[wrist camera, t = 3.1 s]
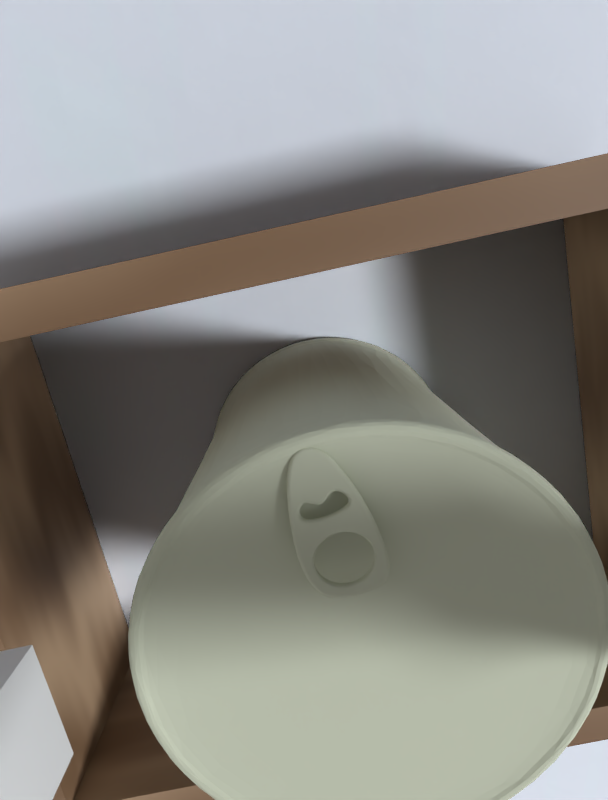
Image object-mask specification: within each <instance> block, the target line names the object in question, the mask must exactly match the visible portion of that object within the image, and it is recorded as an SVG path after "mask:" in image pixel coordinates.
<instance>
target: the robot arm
mask: <svg viewBox="0 0 608 800" xmlns="http://www.w3.org/2000/svg"><path fill="white" fill-rule="evenodd" d="M73 754H74V753H73V750H72V748H71V745H70V742H69V740H68V737H67V734H66V732H65V729H64V727H63V724H62V721H61V719H60V716H59V713H58V711H57V708H56V706H55V703H54V700H53V698H52V695H51V692H50V690H49V687H48V685H47V682H46V679H45V677H44V674H43V671H42V669H41V666H40V664H39V661H38V658H37V656H36V653H35V650H34V648H33V645H28V646H24V647H19V648H14V649H9V650H4V651H0V800H53V798H54V795H55V793H56V791H57V789H58V787H59V784H60V782H61V780H62V778H63V776H64V773H65V771H66V769H67V767H68V765H69V763H70V760H71V758H72V756H73Z"/></svg>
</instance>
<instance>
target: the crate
mask: <svg viewBox="0 0 608 800" xmlns="http://www.w3.org/2000/svg"><path fill="white" fill-rule="evenodd" d="M558 219H563V222H564V233H565V244H566V254H567V265H568V276H569V287H570V297H571V308H572V319H573V329H574V340H575V351H576V362H577V372H578V383H579V394H580V405H581V415H582V426H583V437H584V447H585V458H586V469H587V480H588V490H589V501H590V512H591V522H592V533H593V543H594V545H595V547H596V549H597V551H598V554H599V556H600V559H601V561H602V564H603V567H604V571H605V574H606V578H607V582H608V153H607V154H603V155H598V156H594V157H589V158H585V159H580V160H576V161H572V162H567V163H563V164H558V165H554V166H549V167H545V168H540V169H536V170H531V171H527V172H522V173H518V174H513V175H509V176H504V177H500V178H495V179H491V180H486V181H482V182H477V183H473V184H468V185H464V186H459V187H455V188H450V189H446V190H442V191H437V192H433V193H428V194H424V195H419V196H415V197H410V198H406V199H401V200H397V201H392V202H388V203H383V204H379V205H374V206H370V207H365V208H361V209H356V210H352V211H347V212H343V213H338V214H334V215H329V216H325V217H320V218H316V219H312V220H307V221H303V222H298V223H294V224H289V225H285V226H280V227H276V228H271V229H267V230H262V231H258V232H253V233H249V234H244V235H240V236H235V237H231V238H226V239H222V240H217V241H213V242H208V243H204V244H199V245H195V246H190V247H186V248H182V249H177V250H173V251H168V252H164V253H159V254H155V255H150V256H146V257H141V258H137V259H132V260H128V261H123V262H119V263H114V264H110V265H105V266H101V267H96V268H92V269H87V270H83V271H78V272H74V273H69V274H65V275H60V276H56V277H51V278H47V279H43V280H38V281H34V282H29V283H25V284H20V285H16V286H11V287H7V288H2V289H0V651H4V650H9V649H14V648H19V647H24V646H28V645H33V648H34V650H35V653H36V656H37V658H38V661H39V664H40V666H41V669H42V671H43V674H44V677H45V679H46V682H47V685H48V687H49V690H50V692H51V695H52V698H53V700H54V703H55V706H56V708H57V711H58V713H59V716H60V719H61V721H62V724H63V727H64V729H65V732H66V734H67V737H68V740H69V742H70V745H71V748H72V750H73V753H74V754H73V756H72V758H71V760H70V763H69V765H68V767H67V769H66V771H65V773H64V776H63V778H62V780H61V782H60V784H59V787H58V789H57V791H56V793H55V795H54V798H53V800H215V799H214V798H212V797H211V796H210V795H208V794H207V793H205V792H204V791H203V790H201V789H200V788H199V787H198V786H197V785H196V784H195V783H194V782H192V781H191V780H190V779H189V778H188V777H187V776H186V775H185V774H184V773H183V772H182V771H181V770H180V769H179V768H178V767H177V766H176V765H175V763H174V762H173V761H172V760H171V759H170V757H169V756H168V754H167V753H166V752H165V750H164V749H163V747H162V746H161V745H160V743H159V742H158V740H157V739H156V737H155V735H154V734H153V732H152V730H151V728H150V726H149V725H148V723H147V721H146V719H145V716H144V714H143V711H142V709H141V706H140V704H139V701H138V699H137V695H136V691H135V687H134V683H133V679H132V674H131V669H130V662H129V649H128V631H129V628H128V625H127V622H126V620H125V617H124V614H123V611H122V608H121V605H120V602H119V599H118V596H117V593H116V590H115V587H114V584H113V581H112V578H111V575H110V572H109V569H108V566H107V563H106V560H105V557H104V554H103V551H102V548H101V545H100V542H99V539H98V536H97V533H96V530H95V527H94V524H93V521H92V518H91V515H90V513H89V510H88V507H87V504H86V501H85V498H84V495H83V492H82V489H81V486H80V483H79V480H78V477H77V474H76V471H75V468H74V465H73V462H72V459H71V456H70V453H69V450H68V447H67V444H66V441H65V438H64V435H63V432H62V429H61V426H60V423H59V420H58V417H57V414H56V411H55V408H54V406H53V403H52V400H51V397H50V394H49V391H48V388H47V385H46V382H45V379H44V376H43V373H42V370H41V367H40V364H39V361H38V358H37V355H36V352H35V349H34V346H33V343H32V340H31V337H30V336H31V335H35V334H40V333H44V332H49V331H54V330H58V329H63V328H67V327H72V326H76V325H81V324H85V323H90V322H94V321H99V320H104V319H108V318H113V317H117V316H122V315H126V314H131V313H135V312H140V311H144V310H149V309H154V308H158V307H163V306H167V305H172V304H176V303H181V302H185V301H190V300H194V299H199V298H204V297H208V296H213V295H217V294H222V293H226V292H231V291H235V290H240V289H244V288H249V287H254V286H258V285H263V284H267V283H272V282H276V281H281V280H285V279H290V278H294V277H299V276H304V275H308V274H313V273H317V272H322V271H326V270H331V269H335V268H340V267H344V266H349V265H354V264H358V263H363V262H367V261H372V260H376V259H381V258H385V257H390V256H394V255H399V254H404V253H408V252H413V251H417V250H422V249H426V248H431V247H435V246H440V245H444V244H449V243H454V242H458V241H463V240H467V239H472V238H476V237H481V236H485V235H490V234H494V233H499V232H504V231H508V230H513V229H517V228H522V227H526V226H531V225H535V224H540V223H544V222H549V221H554V220H558ZM606 739H608V664H607V668H606V671H605V675H604V678H603V681H602V684H601V687H600V690H599V693H598V695H597V698H596V700H595V702H594V704H593V706H592V708H591V711H590V713H589V715H588V716H587V718H586V720H585V721H584V723H583V724H582V726H581V728H580V729H579V731H578V733H577V734H576V736H575V737H574V739H573V740H572V741H571V742H570V743H569V745H568V746H567V747H569V746H574V745H580V744H585V743H590V742H595V741H601V740H606Z"/></svg>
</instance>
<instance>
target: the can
mask: <svg viewBox="0 0 608 800" xmlns="http://www.w3.org/2000/svg"><path fill="white" fill-rule="evenodd" d="M128 649H129V662H130V669H131V674H132V679H133V683H134V687H135V691H136V695H137V699H138V701H139V704H140V706H141V709H142V711H143V714H144V716H145V719H146V721H147V723H148V725H149V726H150V728H151V730H152V732H153V734H154V735H155V737H156V739H157V740H158V742H159V743H160V745H161V746H162V747H163V749H164V750H165V752H166V753H167V754H168V756H169V757H170V759H171V760H172V761H173V762H174V763H175V765H176V766H177V767H178V768H179V769H180V770H181V771H182V772H183V773H184V774H185V775H186V776H187V777H188V778H189V779H190V780H191V781H192V782H194V783H195V784H196V785H197V786H198V787H199V788H200V789H201V790H203V791H204V792H205V793H207V794H208V795H210V796H211V797H212V798H214V799H215V800H508V799H510V798H512V797H513V796H515V795H516V794H517V793H519V792H520V791H521V790H523V789H524V788H525V787H527V786H528V785H529V784H531V783H532V782H533V781H535V780H536V779H537V778H538V777H539V776H540V775H541V774H542V773H543V772H544V771H545V770H546V769H547V768H548V767H549V766H550V765H552V764H553V763H554V762H555V761H556V759H557V758H558V757H559V756H560V754H561V753H562V752H563V751H564V750H565V748H566V747H567V746H568V745H569V743H570V742H571V741H572V740H573V739H574V737H575V736H576V734H577V733H578V731H579V729H580V728H581V726H582V724H583V723H584V721H585V720H586V718H587V716H588V715H589V713H590V711H591V708H592V706H593V704H594V702H595V700H596V698H597V695H598V693H599V690H600V687H601V684H602V681H603V678H604V675H605V671H606V668H607V664H608V582H607V578H606V574H605V571H604V567H603V564H602V561H601V559H600V556H599V554H598V551H597V549H596V547H595V545H594V543H593V541H592V539H591V537H590V535H589V533H588V531H587V530H586V528H585V526H584V525H583V523H582V521H581V520H580V518H579V516H578V515H577V514H576V512H575V511H574V510H573V508H572V507H571V506H570V505H569V503H568V502H567V501H566V500H565V499H564V497H563V496H562V495H561V494H560V493H559V492H558V491H557V490H556V489H555V488H554V487H553V486H552V485H551V484H550V483H549V482H548V481H547V480H546V479H545V478H544V477H543V476H541V475H540V474H539V473H538V472H536V471H535V470H534V469H533V468H531V467H530V466H528V465H527V464H526V463H524V462H523V461H521V460H520V459H519V458H517V457H516V456H514V455H512V454H511V453H509V452H507V451H506V450H504V449H502V448H500V447H498V446H497V445H496V444H494V443H493V442H492V441H491V440H489V439H488V438H487V437H486V436H484V435H483V434H482V433H481V432H479V431H478V430H477V429H476V428H474V427H473V426H472V425H471V424H469V423H468V422H467V421H466V420H465V419H463V418H462V417H461V416H460V415H459V414H457V413H456V412H455V411H454V410H453V409H452V408H450V407H449V406H448V405H447V404H446V403H444V402H443V401H442V400H441V399H440V398H438V397H437V396H436V395H435V394H434V393H433V392H431V391H430V389H429V388H428V386H427V385H426V383H425V382H424V381H423V380H422V378H421V377H420V376H419V375H418V374H417V373H416V372H415V371H414V370H413V369H412V368H411V367H410V366H409V365H408V364H406V363H405V362H404V361H402V360H401V359H400V358H398V357H397V356H395V355H393V354H391V353H390V352H388V351H386V350H384V349H382V348H380V347H377V346H375V345H372V344H369V343H366V342H362V341H358V340H353V339H345V338H319V339H312V340H306V341H302V342H298V343H295V344H292V345H289V346H287V347H284V348H282V349H280V350H277V351H276V352H274V353H272V354H270V355H269V356H267V357H265V358H264V359H262V360H261V361H259V362H258V363H257V364H256V365H254V366H253V367H252V368H251V369H250V370H249V371H248V372H247V373H246V374H245V375H244V376H243V377H242V378H241V379H240V380H239V381H238V383H237V384H236V385H235V386H234V388H233V389H232V391H231V392H230V394H229V395H228V397H227V399H226V401H225V402H224V404H223V407H222V409H221V411H220V414H219V417H218V420H217V423H216V427H215V432H214V437H213V439H212V441H211V443H210V445H209V447H208V449H207V451H206V453H205V456H204V458H203V460H202V462H201V464H200V466H199V468H198V470H197V472H196V473H195V475H194V477H193V479H192V481H191V483H190V485H189V487H188V489H187V491H186V493H185V495H184V497H183V499H182V501H181V503H180V505H179V507H178V508H177V510H176V512H175V514H174V515H173V516H172V517H171V518H170V520H169V521H168V522H167V524H166V525H165V527H164V528H163V530H162V531H161V533H160V534H159V536H158V538H157V539H156V541H155V543H154V545H153V547H152V549H151V551H150V553H149V554H148V557H147V559H146V561H145V564H144V566H143V568H142V571H141V573H140V576H139V578H138V582H137V585H136V589H135V592H134V596H133V601H132V606H131V612H130V620H129V631H128Z"/></svg>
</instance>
